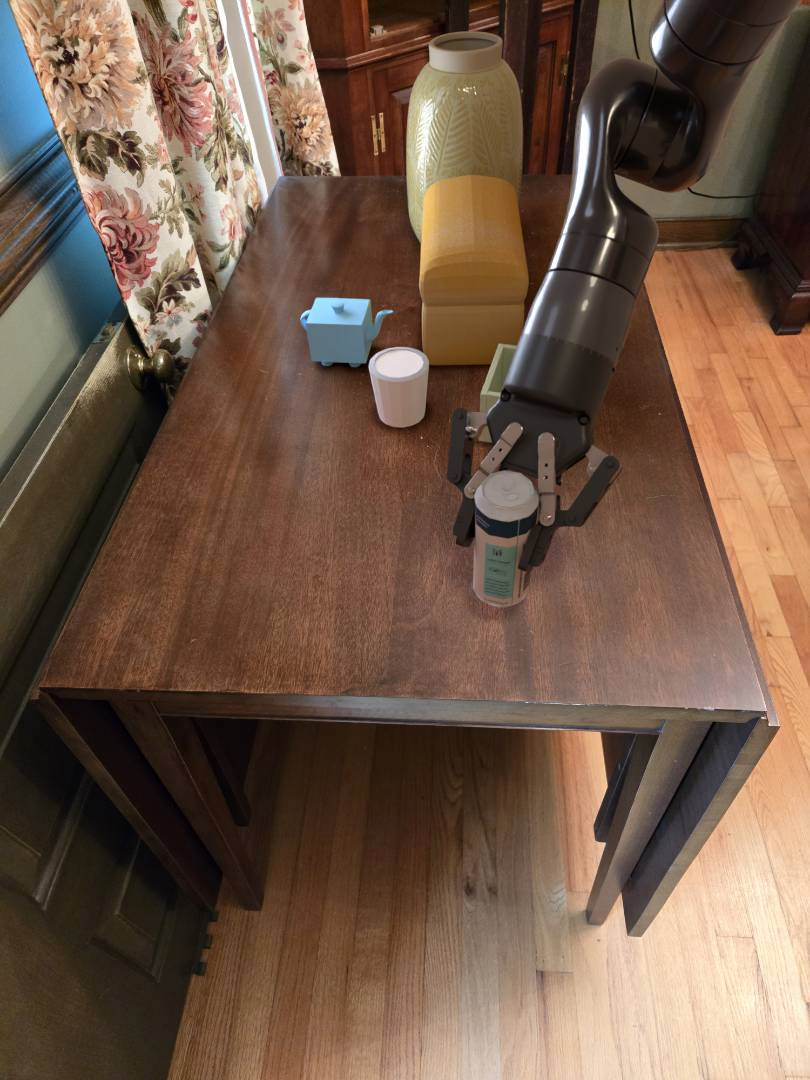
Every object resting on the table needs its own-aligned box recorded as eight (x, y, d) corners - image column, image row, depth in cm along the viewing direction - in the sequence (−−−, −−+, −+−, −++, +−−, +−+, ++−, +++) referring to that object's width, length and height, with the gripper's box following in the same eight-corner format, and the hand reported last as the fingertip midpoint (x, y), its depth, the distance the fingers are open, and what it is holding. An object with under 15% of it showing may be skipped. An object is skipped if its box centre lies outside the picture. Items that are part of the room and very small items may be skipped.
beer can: (514, 561, 65) (523, 460, 56) (537, 601, 62) (550, 501, 53) (464, 575, 64) (465, 476, 55) (484, 617, 61) (489, 518, 52)
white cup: (364, 405, 88) (359, 355, 83) (415, 389, 90) (413, 339, 85) (387, 437, 84) (383, 387, 79) (440, 419, 86) (439, 369, 80)
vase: (391, 232, 118) (379, 37, 98) (484, 208, 123) (490, 16, 103) (439, 278, 108) (436, 69, 88) (538, 250, 112) (557, 45, 92)
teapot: (399, 344, 97) (396, 292, 91) (392, 370, 93) (388, 318, 87) (311, 340, 98) (303, 289, 93) (301, 366, 94) (292, 314, 89)
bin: (577, 401, 87) (585, 353, 82) (565, 454, 81) (573, 406, 76) (496, 389, 89) (498, 343, 84) (478, 440, 83) (480, 393, 78)
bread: (522, 365, 92) (532, 251, 81) (421, 366, 93) (417, 254, 82) (511, 269, 108) (518, 164, 97) (425, 271, 109) (422, 167, 98)
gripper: (469, 311, 54) (396, 525, 56) (659, 359, 49) (570, 595, 51) (497, 337, 61) (431, 528, 63) (666, 382, 56) (587, 589, 58)
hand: (493, 556), depth 57 cm, fingers closed on beer can, 4 cm apart
